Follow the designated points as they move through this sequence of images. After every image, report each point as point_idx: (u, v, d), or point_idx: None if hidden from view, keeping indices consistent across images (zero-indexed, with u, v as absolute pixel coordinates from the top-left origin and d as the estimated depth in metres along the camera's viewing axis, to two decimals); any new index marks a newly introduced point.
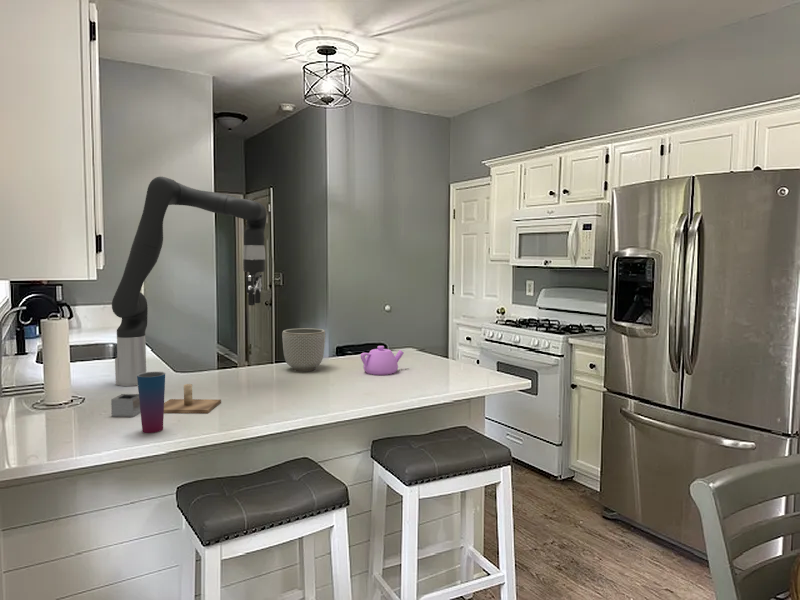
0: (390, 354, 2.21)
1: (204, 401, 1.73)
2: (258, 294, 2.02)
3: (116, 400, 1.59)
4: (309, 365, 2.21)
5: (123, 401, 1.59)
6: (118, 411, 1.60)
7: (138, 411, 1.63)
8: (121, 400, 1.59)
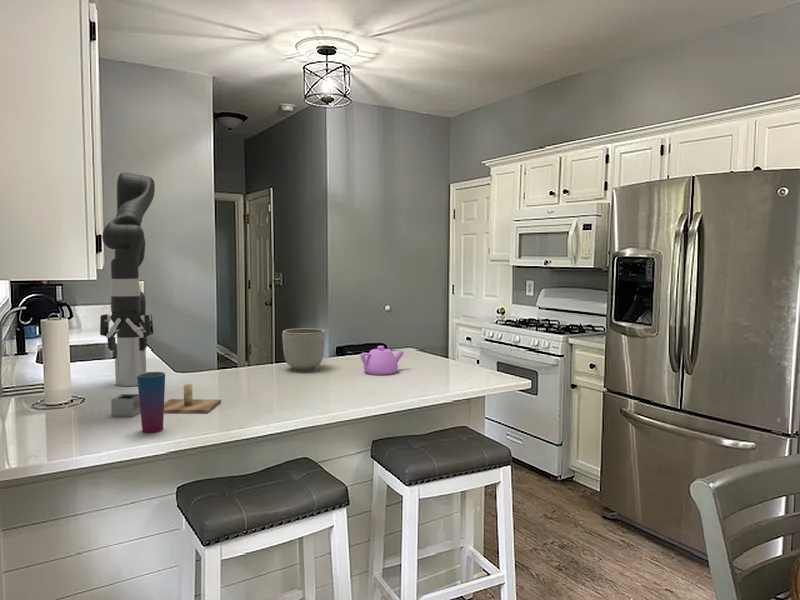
0: (390, 354, 2.21)
1: (204, 401, 1.73)
2: (114, 339, 1.62)
3: (116, 400, 1.59)
4: (309, 365, 2.21)
5: (123, 401, 1.59)
6: (118, 411, 1.60)
7: (138, 411, 1.63)
8: (121, 400, 1.59)
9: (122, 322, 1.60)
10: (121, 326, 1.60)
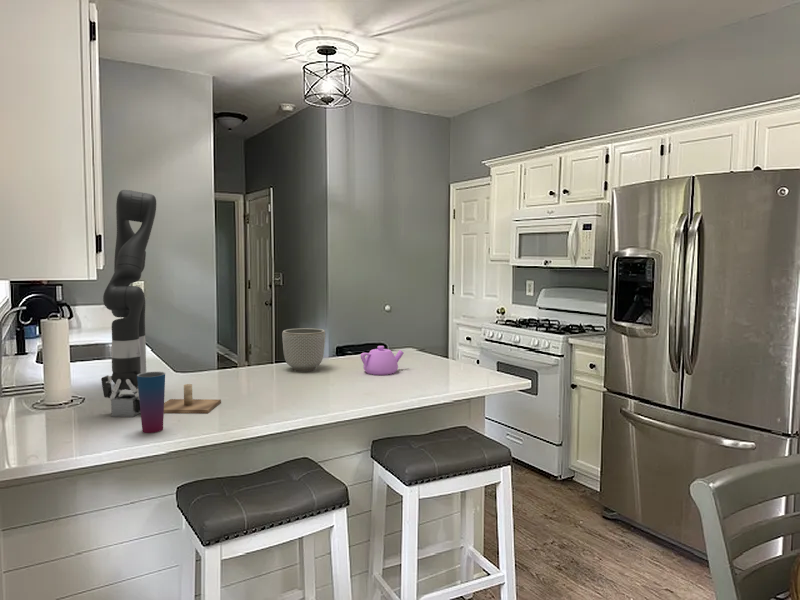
0: (390, 354, 2.21)
1: (204, 401, 1.73)
2: None
3: (116, 400, 1.59)
4: (309, 365, 2.21)
5: (123, 401, 1.59)
6: (118, 411, 1.60)
7: None
8: (121, 400, 1.59)
9: (122, 382, 1.61)
10: (121, 386, 1.61)
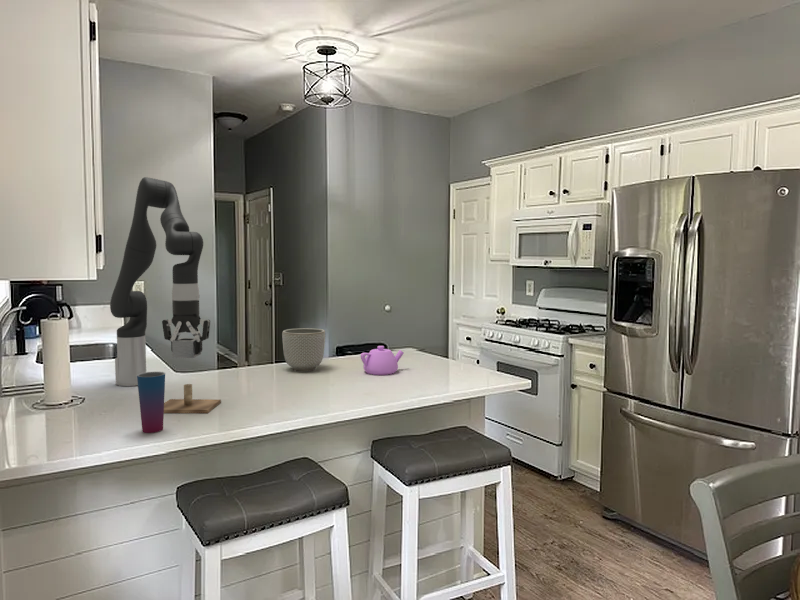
0: (390, 354, 2.21)
1: (204, 401, 1.73)
2: None
3: (177, 341, 1.65)
4: (309, 365, 2.21)
5: (184, 343, 1.65)
6: (179, 352, 1.65)
7: None
8: (182, 341, 1.65)
9: (182, 325, 1.67)
10: (181, 329, 1.67)
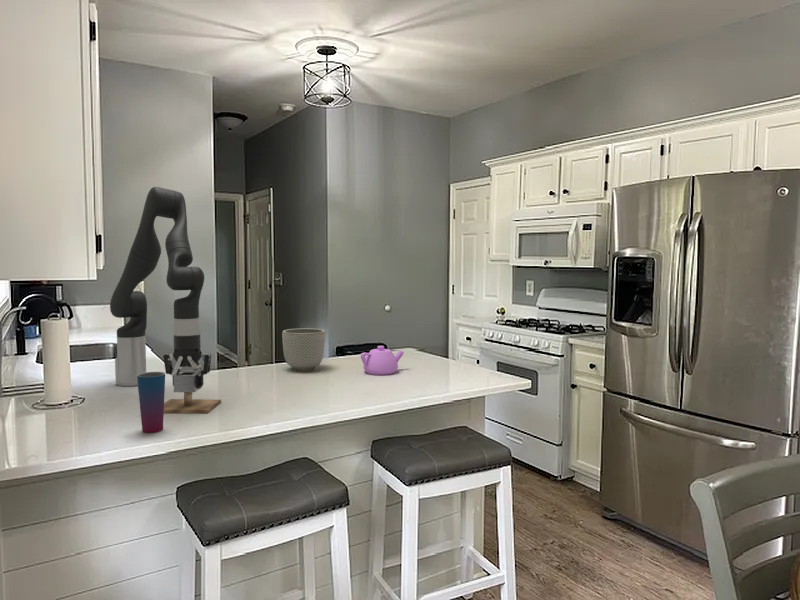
0: (390, 354, 2.21)
1: (204, 401, 1.73)
2: None
3: (178, 376, 1.66)
4: (309, 365, 2.21)
5: (185, 377, 1.66)
6: (180, 387, 1.66)
7: None
8: (183, 376, 1.66)
9: (184, 359, 1.67)
10: (183, 363, 1.68)
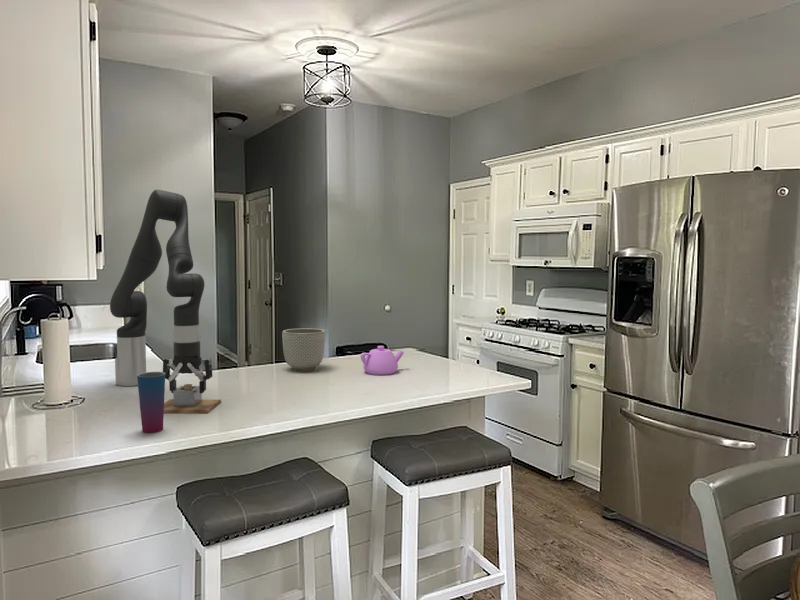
0: (390, 354, 2.21)
1: (204, 401, 1.73)
2: (175, 381, 1.70)
3: (178, 391, 1.66)
4: (309, 365, 2.21)
5: (185, 392, 1.66)
6: (180, 402, 1.66)
7: (198, 402, 1.70)
8: (183, 391, 1.66)
9: (183, 366, 1.68)
10: (182, 370, 1.68)
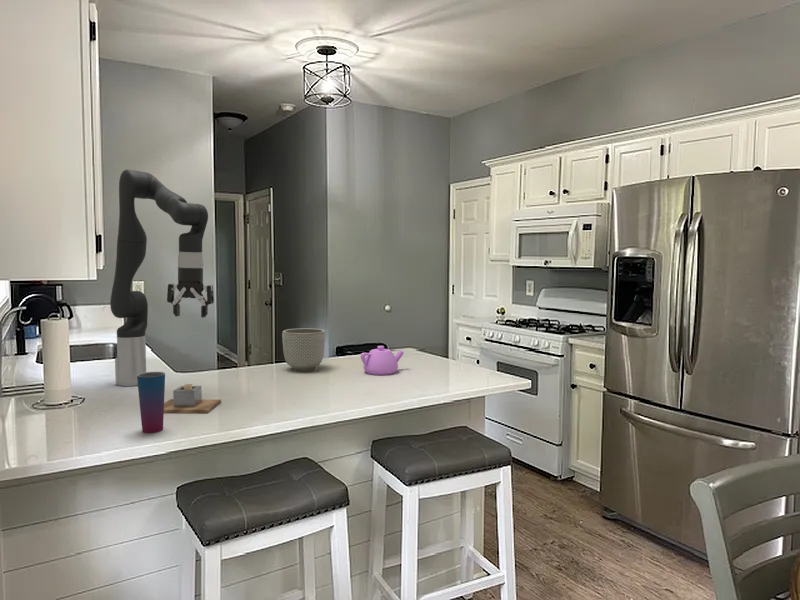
0: (390, 354, 2.21)
1: (204, 401, 1.73)
2: (179, 306, 1.80)
3: (178, 391, 1.66)
4: (309, 365, 2.21)
5: (185, 392, 1.66)
6: (180, 402, 1.66)
7: (198, 402, 1.70)
8: (183, 391, 1.66)
9: (187, 291, 1.78)
10: (186, 295, 1.78)
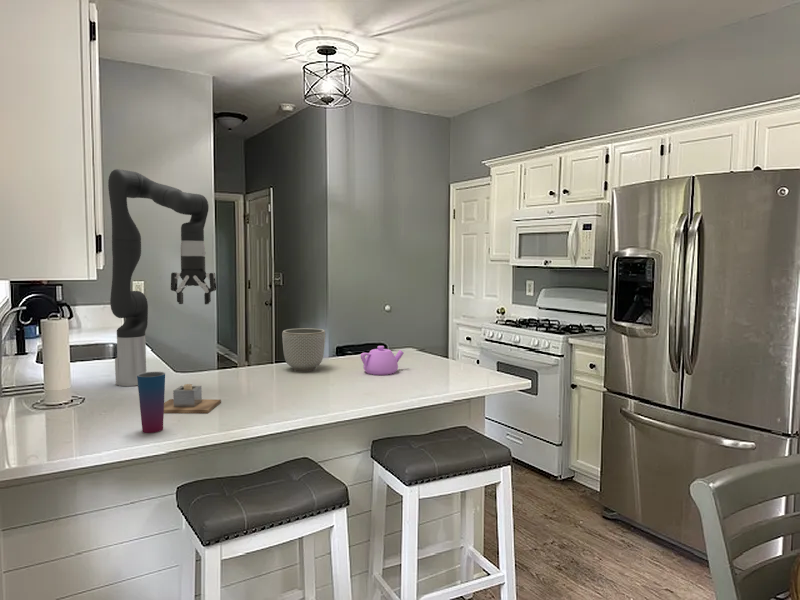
0: (390, 354, 2.21)
1: (204, 401, 1.73)
2: (182, 294, 1.85)
3: (178, 391, 1.66)
4: (309, 365, 2.21)
5: (185, 392, 1.66)
6: (180, 402, 1.66)
7: (198, 402, 1.70)
8: (183, 391, 1.66)
9: (190, 279, 1.83)
10: (189, 282, 1.83)
